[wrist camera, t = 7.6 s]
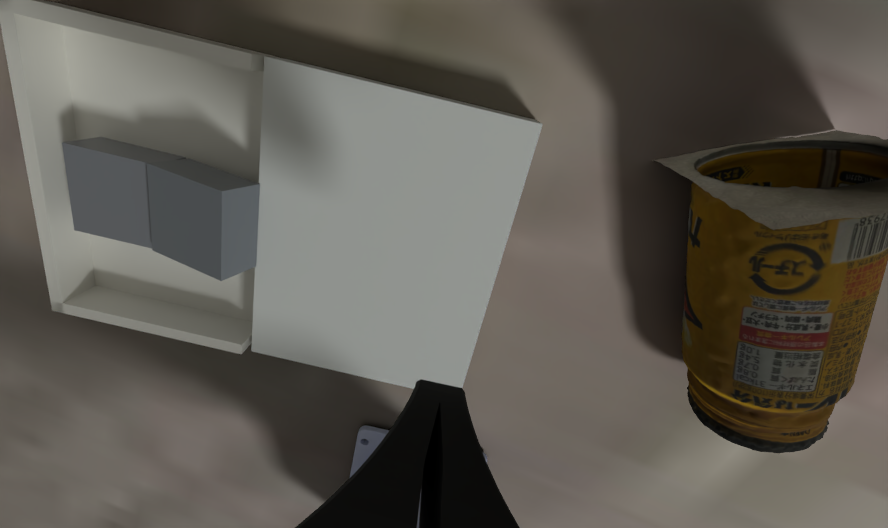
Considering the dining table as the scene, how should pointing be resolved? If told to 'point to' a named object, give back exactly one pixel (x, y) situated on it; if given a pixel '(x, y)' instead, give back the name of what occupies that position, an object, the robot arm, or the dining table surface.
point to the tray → (139, 123)
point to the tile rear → (111, 188)
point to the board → (380, 223)
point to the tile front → (203, 217)
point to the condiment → (781, 281)
